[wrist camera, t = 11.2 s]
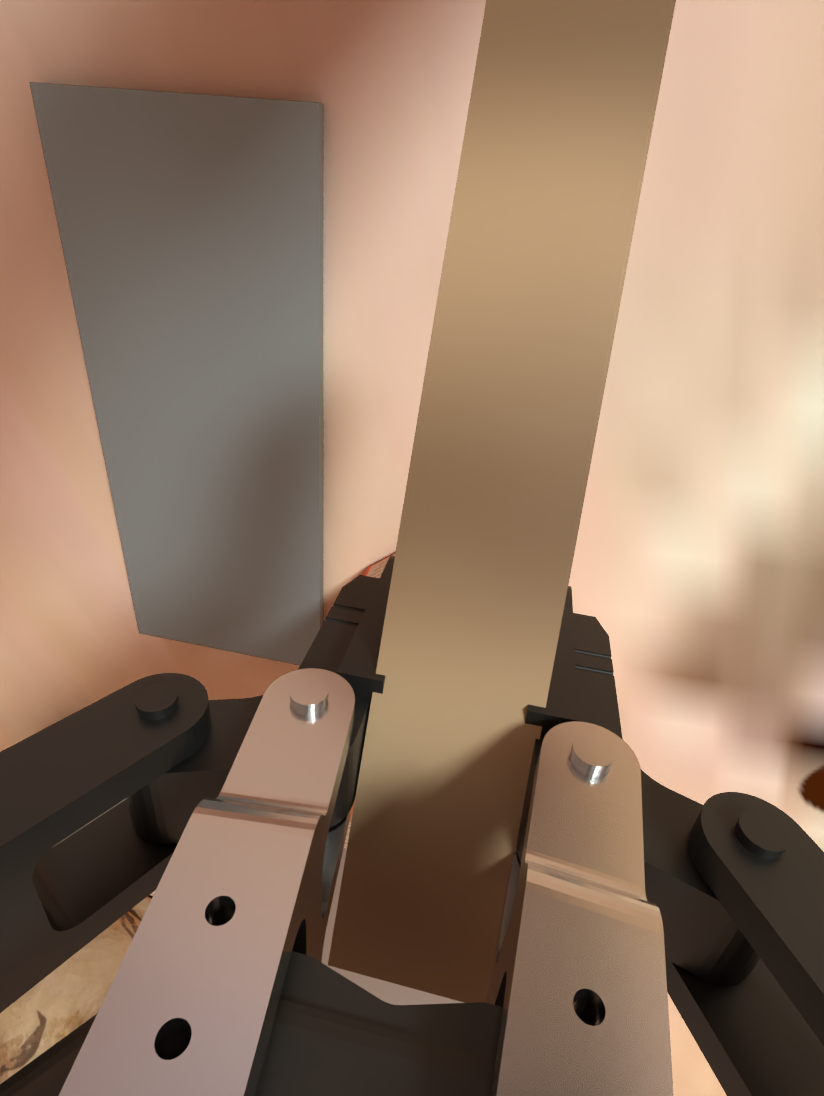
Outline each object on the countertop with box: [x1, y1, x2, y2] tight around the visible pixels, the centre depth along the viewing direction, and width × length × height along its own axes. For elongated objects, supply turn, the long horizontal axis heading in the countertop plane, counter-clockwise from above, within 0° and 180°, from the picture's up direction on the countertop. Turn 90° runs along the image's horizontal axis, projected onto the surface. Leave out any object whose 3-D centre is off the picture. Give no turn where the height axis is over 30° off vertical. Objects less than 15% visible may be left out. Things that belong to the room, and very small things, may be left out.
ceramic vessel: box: [0, 897, 151, 1084], centre depth 48 cm, size 18×19×25 cm
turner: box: [321, 0, 676, 1005], centre depth 11 cm, size 22×6×4 cm, turn 175°
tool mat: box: [30, 82, 323, 665], centre depth 31 cm, size 28×12×1 cm, turn 175°
